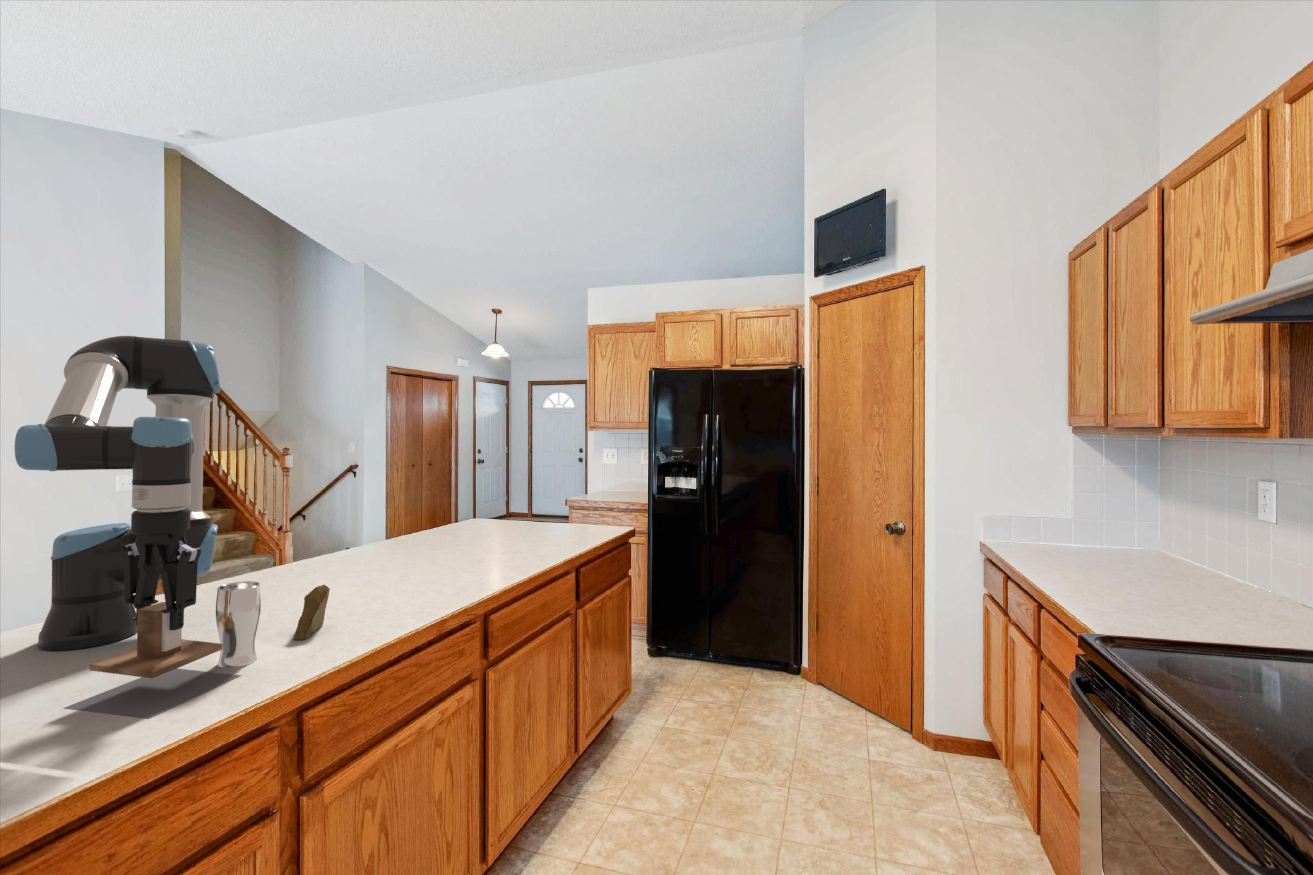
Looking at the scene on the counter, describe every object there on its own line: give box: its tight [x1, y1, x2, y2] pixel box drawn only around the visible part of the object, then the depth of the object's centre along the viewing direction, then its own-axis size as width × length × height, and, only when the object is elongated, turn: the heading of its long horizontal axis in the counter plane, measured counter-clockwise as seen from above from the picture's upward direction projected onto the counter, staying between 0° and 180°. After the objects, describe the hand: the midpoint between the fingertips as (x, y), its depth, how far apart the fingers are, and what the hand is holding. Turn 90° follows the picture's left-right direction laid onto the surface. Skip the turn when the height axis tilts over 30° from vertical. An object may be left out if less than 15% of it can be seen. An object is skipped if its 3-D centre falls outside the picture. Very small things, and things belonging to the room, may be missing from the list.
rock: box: [292, 584, 330, 640], centre depth 127 cm, size 11×9×10 cm
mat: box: [64, 668, 242, 720], centre depth 96 cm, size 16×16×1 cm
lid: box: [89, 601, 223, 678], centre depth 97 cm, size 12×12×9 cm
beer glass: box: [215, 580, 262, 669], centre depth 109 cm, size 7×7×15 cm
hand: (159, 646), depth 97 cm, fingers closed on lid, 4 cm apart
